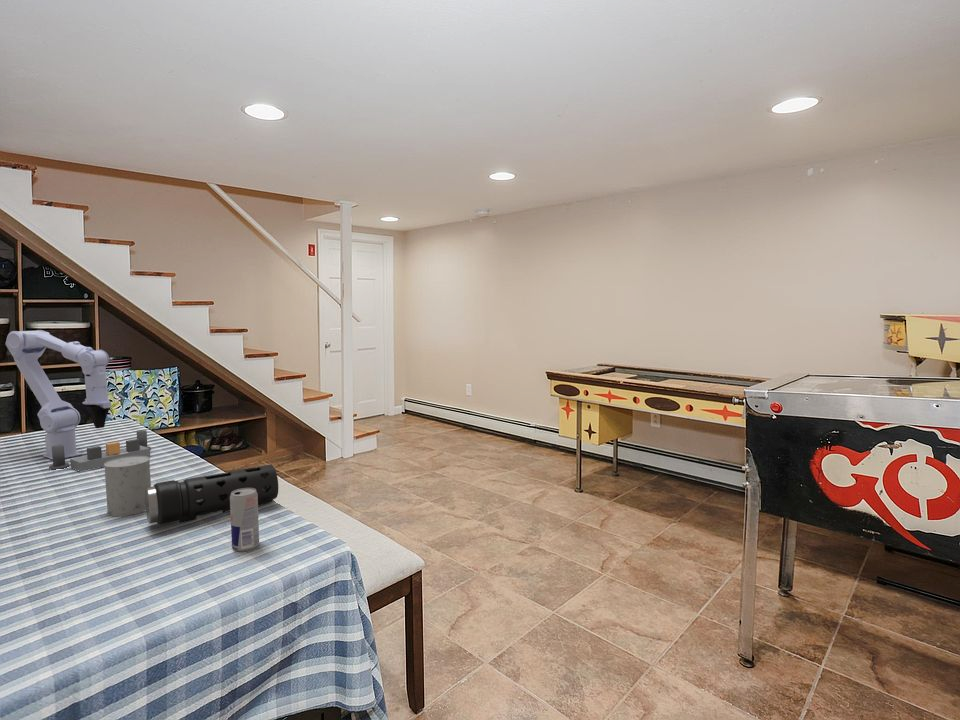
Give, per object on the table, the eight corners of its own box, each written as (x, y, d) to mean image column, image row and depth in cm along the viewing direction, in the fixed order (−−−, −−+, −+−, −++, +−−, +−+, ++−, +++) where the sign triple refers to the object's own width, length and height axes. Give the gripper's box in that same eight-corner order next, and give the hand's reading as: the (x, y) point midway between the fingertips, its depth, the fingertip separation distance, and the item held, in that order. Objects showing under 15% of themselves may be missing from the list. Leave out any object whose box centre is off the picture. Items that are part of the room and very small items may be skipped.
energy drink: (237, 541, 115) (235, 487, 113) (262, 540, 115) (260, 487, 114) (227, 552, 109) (225, 496, 108) (254, 551, 110) (252, 495, 109)
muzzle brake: (279, 507, 134) (278, 468, 133) (151, 536, 117) (148, 491, 116) (268, 496, 142) (267, 459, 141) (146, 522, 124) (143, 480, 123)
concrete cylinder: (103, 518, 126) (100, 469, 125) (110, 505, 134) (107, 458, 133) (150, 512, 130) (148, 463, 129) (154, 499, 139) (151, 454, 138)
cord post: (131, 451, 184) (130, 431, 183) (146, 448, 188) (146, 429, 187) (138, 453, 181) (137, 434, 180) (153, 450, 185) (152, 431, 184)
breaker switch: (106, 454, 169) (105, 443, 169) (117, 452, 172) (116, 441, 171) (109, 455, 168) (108, 444, 168) (120, 453, 171) (119, 442, 170)
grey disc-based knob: (46, 469, 164) (44, 447, 163) (65, 465, 168) (64, 443, 167) (52, 471, 161) (51, 449, 160) (72, 467, 165) (70, 446, 164)
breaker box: (71, 468, 164) (69, 448, 164) (140, 453, 181) (139, 435, 180) (80, 472, 161) (78, 451, 160) (150, 457, 177) (149, 438, 177)
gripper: (72, 387, 174) (76, 427, 175) (91, 390, 166) (95, 432, 167) (97, 384, 180) (100, 423, 181) (116, 387, 172) (120, 428, 173)
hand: (99, 427), depth 174 cm, fingers closed
